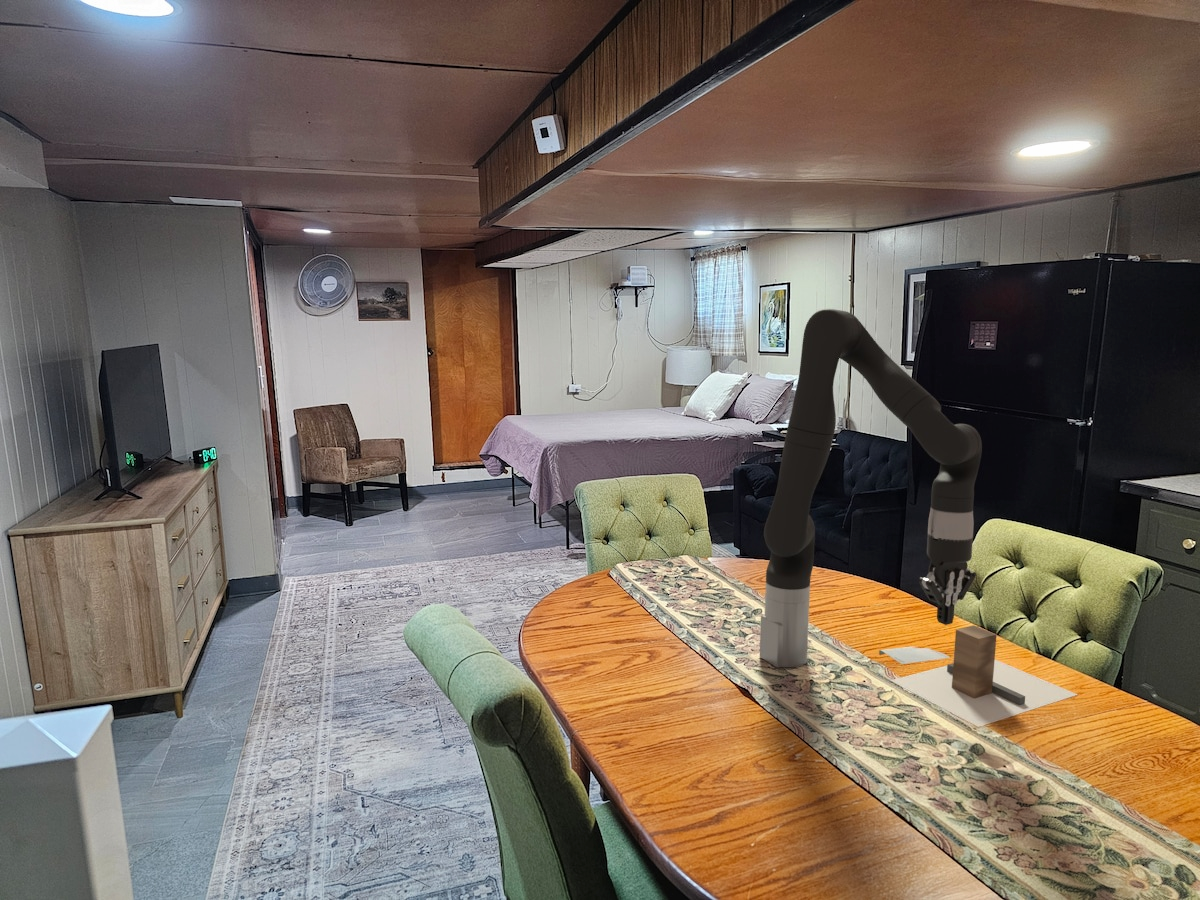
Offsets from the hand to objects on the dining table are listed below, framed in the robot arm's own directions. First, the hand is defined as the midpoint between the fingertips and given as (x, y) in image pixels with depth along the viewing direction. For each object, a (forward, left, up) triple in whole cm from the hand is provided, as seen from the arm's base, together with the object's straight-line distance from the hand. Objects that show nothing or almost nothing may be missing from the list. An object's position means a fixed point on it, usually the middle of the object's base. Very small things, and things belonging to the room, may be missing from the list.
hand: (944, 622), depth 139 cm
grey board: (+12, 0, -16) cm, 20 cm away
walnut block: (+9, 0, -15) cm, 18 cm away
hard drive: (+13, +17, -17) cm, 27 cm away
